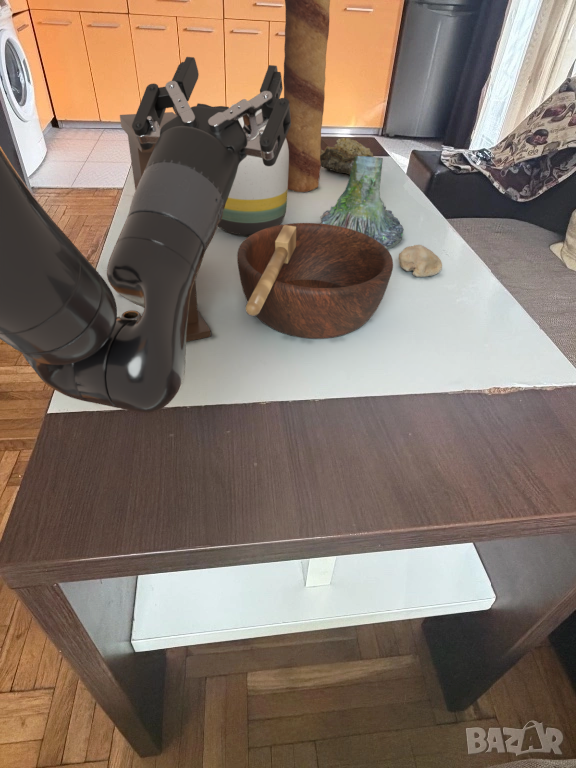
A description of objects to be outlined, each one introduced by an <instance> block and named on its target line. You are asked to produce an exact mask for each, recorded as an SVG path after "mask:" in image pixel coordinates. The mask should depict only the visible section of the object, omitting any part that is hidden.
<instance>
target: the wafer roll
mask: <svg viewBox="0 0 576 768" xmlns="http://www.w3.org/2000/svg"><path fill="white" fill-rule="evenodd" d="M284 5H285V26H284V49H283V50H284V51H283V52H284V60H283V79H282V82H283V98H286V99H288V100H289V107H290V117H291V126H290V128H289V131H288V133H287V136H286V140H287V143H288V149H289V169H288V191H289V190H290V191H293V192H295V193H308V192H311V191H314V190H316V189H318V188H319V184H320V183H319V182H320V174H321V168H322V167H321V163H320V153H321V149H322V148H321V147H322V145H321V143H322V127H323V120H324V119H323V118H324V110H325V109H324V108H325V96H326V95H325V87H326V68H327V50H328V40H329V36H330V35H329V33H330V5H331V0H284Z"/></svg>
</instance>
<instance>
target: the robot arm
mask: <svg viewBox="0 0 576 768" xmlns="http://www.w3.org/2000/svg"><path fill="white" fill-rule="evenodd" d="M199 74H200V73H199V68H198V65H197V61H196V58H195V57H193V56H186V57H185V59H184V61H181V62H180V63H179V64H178V65H177V68H176V70H175V72H174V74H173V77H172V79H171V80H169V81H168V82H166V84H165V85H164V86H159V84H157V83H150V84H148V85H147V86H146V87H145V90H144V93H143V96H142V98H141V101H140V102H139V105H138V108H137V111H136V113H135V114H136V116H135V118H134V121H133V123H132V128H133V130H134V132H135V135H136V137H137V140H138V142H139V144H140V146H141V148H142V149H144V150H148V149H150V148H151V147H152V146H153V144H156V145H155V147H154V150H153V152H152V154H151V156H150V159H149V161H148V163H147V166H146V168H145V170H144V172H143V175H142V177H141V179H140V182H139V184H138V186H137V188H136V191H134V193H133V196H132V199H131V203H130V206H129V210H128V214H127V217H126V219H125V221H124V224H123V227H122V229H121V231H120V233H119V235H118V238H117V240H116V242H115V245H114V247H113V249H112V252H111V254H110V257H109V260H108V263H107V265H106V277H107V281H108V283H109V285H110V286H111V288H112V289H113V290H114V291H115V292H116V293H117V294H118V295H120V296H121V297H122V298H123V299H125V300H127V301H129V302H130V303H132V304H134V305H137V306H139V307H141V308H143V312H142V314H141V316H142V317H141V318H140V320H133V319H127V318H121V316H118V307H117V302H116V298H115V295H114V293H113V291H112V290H111V288H110V286H109V285H108V283H107V282H106V280H105V278H104V277H102V275H101V274H100V273H99V271H98V270H97V269H96V268H95V267H94V266H93V265H92V264H91V262H90V261H89V260H88V259H87V258H86V256H84V254H83V253H82V252H81V251H80V249H78V247H77V246H76V245H75V244H74V243H73V241H72V240H71V239H70V238H69V237H68V236H67V235H66V233H64V231H63V230H62V229H61V228H60V227H59V225H58V224H57V223H56V222H55V221H54V220H53V219H52V217H51V216H50V215H49V214H48V213H47V212H46V210H45V209H44V208H43V206H42V205H41V203H39V201H38V200H37V198H36V197H35V196H34V194H33V193H32V191H31V190H30V188H29V187H28V186H27V185H26V183H25V182H24V180H23V178H22V177H21V176H20V175H19V173H18V172H17V170H16V169H15V167H14V165H13V164H12V162H11V161H10V159H9V158H8V156H7V154H6V153H5V151H4V150H3V148H2V147H1V146H0V340H1V341H2V342H4V343H5V344H7V345H8V346H10V347H12V348H13V349H14V350H15V351H18V352H19V353H21V354H22V356H23V357H24V359H25V360H26V362H27V363H28V365H29V366H30V367H31V368H32V370H33V371H34V372H35V373H36V374H37V376H38V377H39V378H40V380H41V381H42V382H43V383H45V385H47V386H48V387H50V388H51V389H52V390H54V391H56V392H58V393H60V394H62V395H64V396H66V397H69V398H72V399H75V400H77V401H83V402H88V403H93V404H97V405H101V406H106V407H112V408H116V409H121V410H125V411H130V412H135V413H140V414H151V413H156V412H158V411H160V410H162V409H164V408H165V407H166V406H167V405H169V404H170V403H171V402H172V401H173V399H175V397H176V396H177V394H178V393H179V391H180V389H181V388H182V384H183V383H184V382H183V381H184V378H185V373H186V359H187V342H186V331H187V320H188V311H189V302H190V296H191V291H192V287H193V284H194V282H195V283H196V279H197V276H198V274H199V271H200V267H201V265H202V262H203V260H204V258H205V257H204V256H205V254H206V252H207V250H208V248H209V247H210V244H211V242H212V240H213V239H214V237H215V234H216V232H217V229H218V228H219V226H218V224H219V222H220V221H221V219H222V216H223V210H224V207H225V205H226V202H227V199H228V196H229V193H230V191H231V188H232V185H233V182H234V180H235V177H236V173H237V169H238V165H239V164H240V162H241V161H242V160H243V159H244V158H246V156H247V155H248V156H254V157H259V158H262V159H263V164H264V165H265V166H272V165H274V164H275V162H276V160H277V158H278V155H279V153H280V150H281V148H282V145H283V143H284V140H285V138H286V136H287V133H288V131H289V128H290V126H291V117H290V107H289V100H288V99H286V98H284V97H281V95H282V92H283V90H284V86H283V79H282V73H281V71H278V66H277V65H271V64H269V65H268V66H267V70H266V72H265V75H264V78H263V80H262V83H261V86H260V89H259V93H258V94H257V95H255V96H254V97H252V98H250V99H249V100H247V99H246V98H243V99H240V100H239V101H238V102H236V103H234V104H235V105H233V104H232V105H233V106H232V105H231V106H232V107H231V106H230V107H229V106H224V105H220V106H219V105H218V106H217V105H215V106H212V105H209V104H206V103H198V102H197V104H196V105H194V106H190V104H189V100H190V99H191V96H192V94H193V92H194V89H195V87H196V84H197V82H198V80H199V76H200V75H199ZM170 108H172V110H173V113H174V114H175V115H176V116H177V117H175V118H174V119H172V120H171V121H169V122H168V123H166V124H165V125H163V127H162V128H161V129H160V124H161V121H162V118H163V116H164V113H165V112H166V109H170ZM260 109H261V110H262V112H261V113H259V114H258V115H256V112H257V111H259V110H260ZM255 115H256V116H255ZM241 117H243V121H244V126H243V128H242V126H241V124H240V122H239V120H238V119H240V118H241ZM265 125H266V127H265V129H264V130H259V129H260V128H262V127H263V126H265ZM258 131H259V134H258ZM257 134H258V135H257ZM256 135H257V136H256ZM255 136H256V138H255V139H253V140H251V139H252V138H254V137H255Z"/></svg>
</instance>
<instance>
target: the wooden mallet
mask: <svg viewBox="0 0 576 768" xmlns="http://www.w3.org/2000/svg"><path fill="white" fill-rule="evenodd" d="M283 225H284V224H283ZM295 247H296V227H295V226H288V225H284V226H283V228H282V230H281V232H280V233H279V235H278V237H277V239H276V241H275V252H274V254H273V255H272V257H271V259H270V261H269V263H268V265H267V267H266V269H265V271H264V272H263V274H262V276H261V278H260V280H259V282H258V284H257V286H256V288H255V290H254V291H253V293H252V295H251V297H250V299H249V301H248V302H247V303H246V305H245V311H246V313H247V314H248V315H249V316H251V317H256V315H257V314H259V312H260V310H261V308H262V306H263V304H264V302H265V300H266V298H267V296H268V294H269V292H270V290H271V288H272V286H273V284H274V282H275V280H276V278H277V276H278V274H279V272H280V270H281V268H282V266H283V264H284V263H287V264H288V262H289V260H290V258H291V256H292V254H293V251H294V249H295Z"/></svg>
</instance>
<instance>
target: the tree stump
mask: <svg viewBox="0 0 576 768" xmlns="http://www.w3.org/2000/svg"><path fill="white" fill-rule="evenodd" d="M383 159H384V157H378V156H377V157H375V156H374V157H365V156H355V159H354V163H353V167H352V170H351V174H350V175H349V177H348V181H347V184H346V187H345V190H344V191H343V192H342V193H341V195H340V196H339V197H338V198H337V201H336V203H335V205H334V206H330V209H328V210H325V211H323V213H322V215H321V216H320V217H319V218H320V221H321V224H328V225H335V226H340V227H344V228H348V229H352V230H355V231H358V232H361V233H363V234H366V235H368V236H370V237H372V238H373V239H375V240H377V241H378V242H380V243H381V244H382V245H383V246H384V247H385V248H386V249H387V250H390V249H392V248H394V247H395V246H397V245H398V244H399V243H401V242H402V240H403V235H404V226H403V224H401V222H400V220H399V219H398V217H396V216H395V215H394V214H393V211H392V210H389V209H387V208H386V207H387V206H385V204H384V203H385V202H384V201H383V200H382V198H381V181H382V170H383V161H384V160H383Z"/></svg>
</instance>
